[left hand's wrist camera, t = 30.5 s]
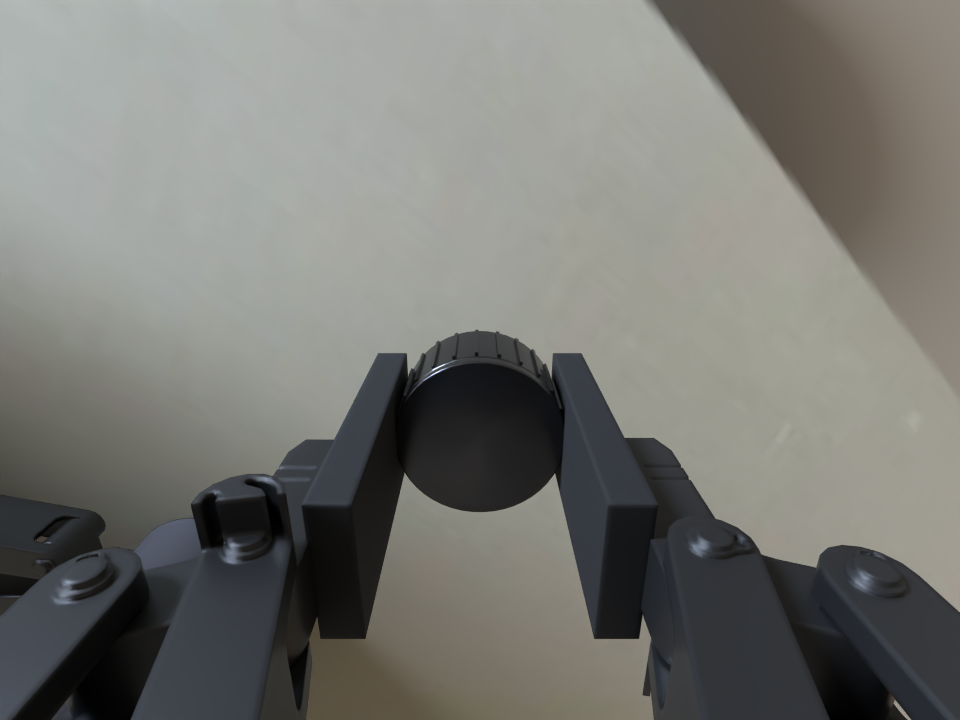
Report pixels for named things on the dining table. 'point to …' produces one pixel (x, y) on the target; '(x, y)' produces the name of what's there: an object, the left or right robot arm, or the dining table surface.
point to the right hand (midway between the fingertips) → (249, 705)
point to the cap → (480, 423)
